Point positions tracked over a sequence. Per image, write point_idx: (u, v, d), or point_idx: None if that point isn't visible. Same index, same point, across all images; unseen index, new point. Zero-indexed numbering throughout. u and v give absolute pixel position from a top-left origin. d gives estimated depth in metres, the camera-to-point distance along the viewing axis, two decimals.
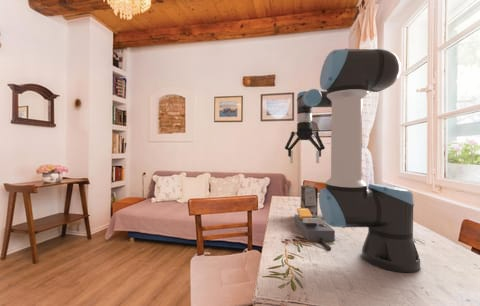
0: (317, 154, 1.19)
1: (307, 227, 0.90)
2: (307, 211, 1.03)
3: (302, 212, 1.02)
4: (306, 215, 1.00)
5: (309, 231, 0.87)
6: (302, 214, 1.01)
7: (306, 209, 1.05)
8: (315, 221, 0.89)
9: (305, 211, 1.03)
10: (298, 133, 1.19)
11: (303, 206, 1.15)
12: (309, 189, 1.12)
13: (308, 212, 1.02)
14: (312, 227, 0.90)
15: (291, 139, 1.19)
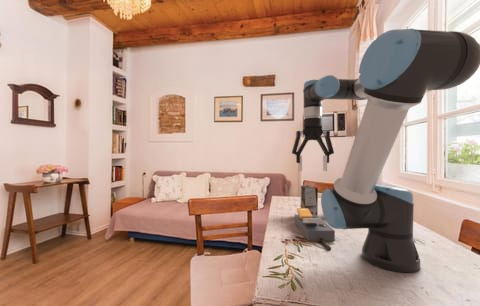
0: (324, 160, 0.97)
1: (307, 227, 0.90)
2: (307, 211, 1.03)
3: (302, 212, 1.02)
4: (306, 215, 1.00)
5: (309, 231, 0.87)
6: (302, 214, 1.01)
7: (306, 209, 1.05)
8: (315, 221, 0.89)
9: (305, 211, 1.03)
10: (305, 132, 0.96)
11: (303, 206, 1.15)
12: (309, 189, 1.12)
13: (308, 212, 1.02)
14: (312, 227, 0.90)
15: (298, 140, 0.96)
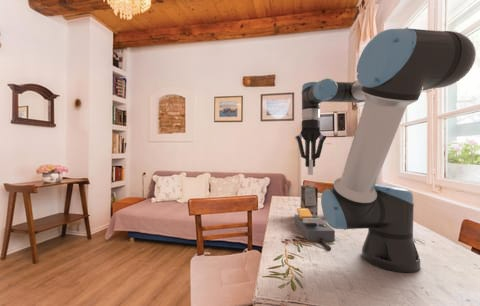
0: None
1: (307, 227, 0.90)
2: (307, 211, 1.03)
3: (302, 212, 1.02)
4: (306, 215, 1.00)
5: (309, 231, 0.87)
6: (302, 214, 1.01)
7: (306, 209, 1.05)
8: (315, 221, 0.89)
9: (305, 211, 1.03)
10: (303, 133, 0.98)
11: (303, 206, 1.15)
12: (309, 189, 1.12)
13: (308, 212, 1.02)
14: (312, 227, 0.90)
15: (301, 144, 0.98)
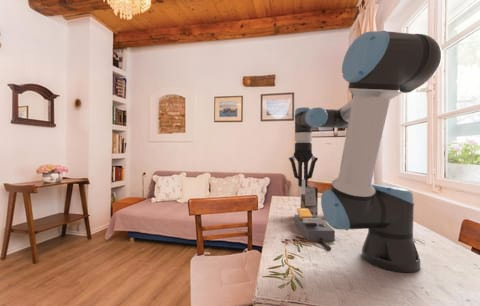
0: None
1: (307, 227, 0.90)
2: (307, 211, 1.03)
3: (302, 212, 1.02)
4: (306, 215, 1.00)
5: (309, 231, 0.87)
6: (302, 214, 1.01)
7: (306, 209, 1.05)
8: (315, 221, 0.89)
9: (305, 211, 1.03)
10: (296, 155, 1.04)
11: (303, 206, 1.15)
12: (309, 189, 1.12)
13: (308, 212, 1.02)
14: (312, 227, 0.90)
15: (294, 166, 1.04)
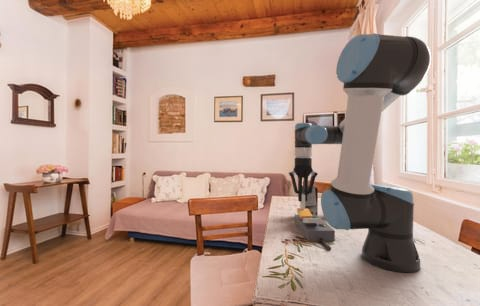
0: None
1: (307, 227, 0.90)
2: (307, 211, 1.03)
3: (302, 212, 1.02)
4: (306, 215, 1.00)
5: (309, 231, 0.87)
6: (302, 214, 1.01)
7: (305, 209, 1.05)
8: (315, 221, 0.89)
9: (305, 211, 1.03)
10: (296, 170, 1.04)
11: None
12: None
13: (308, 212, 1.02)
14: (312, 227, 0.90)
15: (294, 181, 1.04)
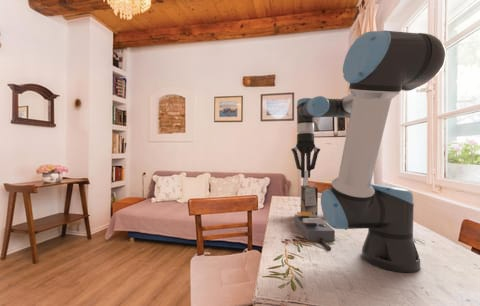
0: None
1: (307, 227, 0.90)
2: None
3: None
4: None
5: (309, 231, 0.87)
6: None
7: None
8: (315, 221, 0.89)
9: None
10: (299, 146, 1.04)
11: (303, 206, 1.15)
12: (309, 189, 1.12)
13: None
14: (312, 227, 0.90)
15: (297, 156, 1.04)
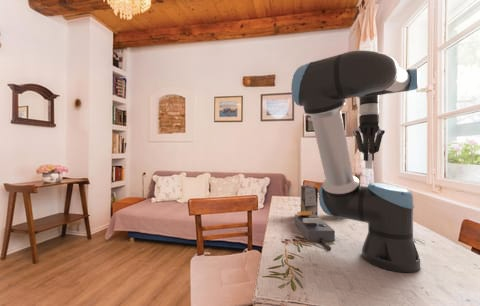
0: None
1: (307, 227, 0.90)
2: None
3: None
4: (306, 211, 1.00)
5: (309, 231, 0.87)
6: None
7: None
8: (315, 221, 0.89)
9: None
10: (362, 128, 1.00)
11: (303, 206, 1.15)
12: (309, 189, 1.12)
13: None
14: (312, 227, 0.90)
15: (361, 139, 1.00)
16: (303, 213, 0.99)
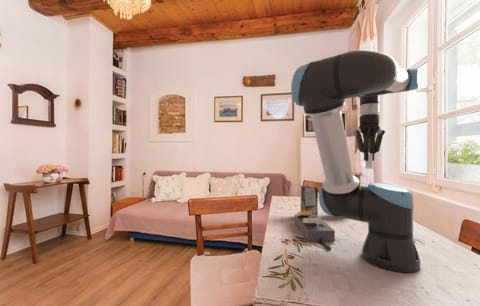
0: None
1: (307, 227, 0.90)
2: None
3: None
4: (306, 211, 1.00)
5: (309, 231, 0.87)
6: None
7: None
8: (315, 221, 0.89)
9: None
10: (363, 128, 1.00)
11: (303, 206, 1.15)
12: (309, 189, 1.12)
13: None
14: (312, 227, 0.90)
15: (361, 139, 1.00)
16: (303, 213, 0.99)
